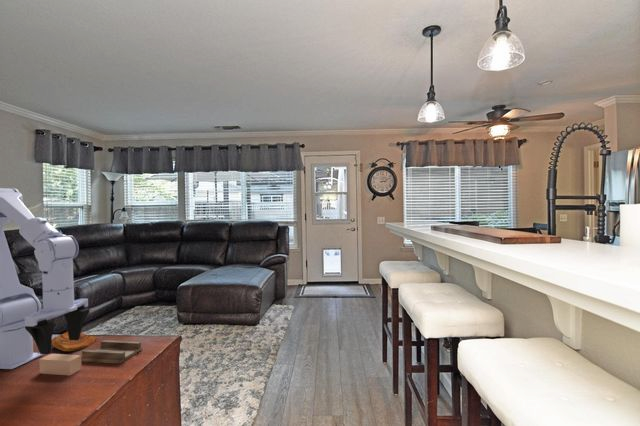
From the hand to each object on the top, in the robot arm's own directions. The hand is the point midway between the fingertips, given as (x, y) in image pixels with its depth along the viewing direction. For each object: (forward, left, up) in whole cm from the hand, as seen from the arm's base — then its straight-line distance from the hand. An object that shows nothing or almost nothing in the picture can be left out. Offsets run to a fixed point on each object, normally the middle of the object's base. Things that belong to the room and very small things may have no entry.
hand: (60, 346), depth 79 cm
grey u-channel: (+6, +9, -6) cm, 12 cm away
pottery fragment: (-10, +13, -7) cm, 18 cm away
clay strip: (0, 0, -6) cm, 6 cm away
